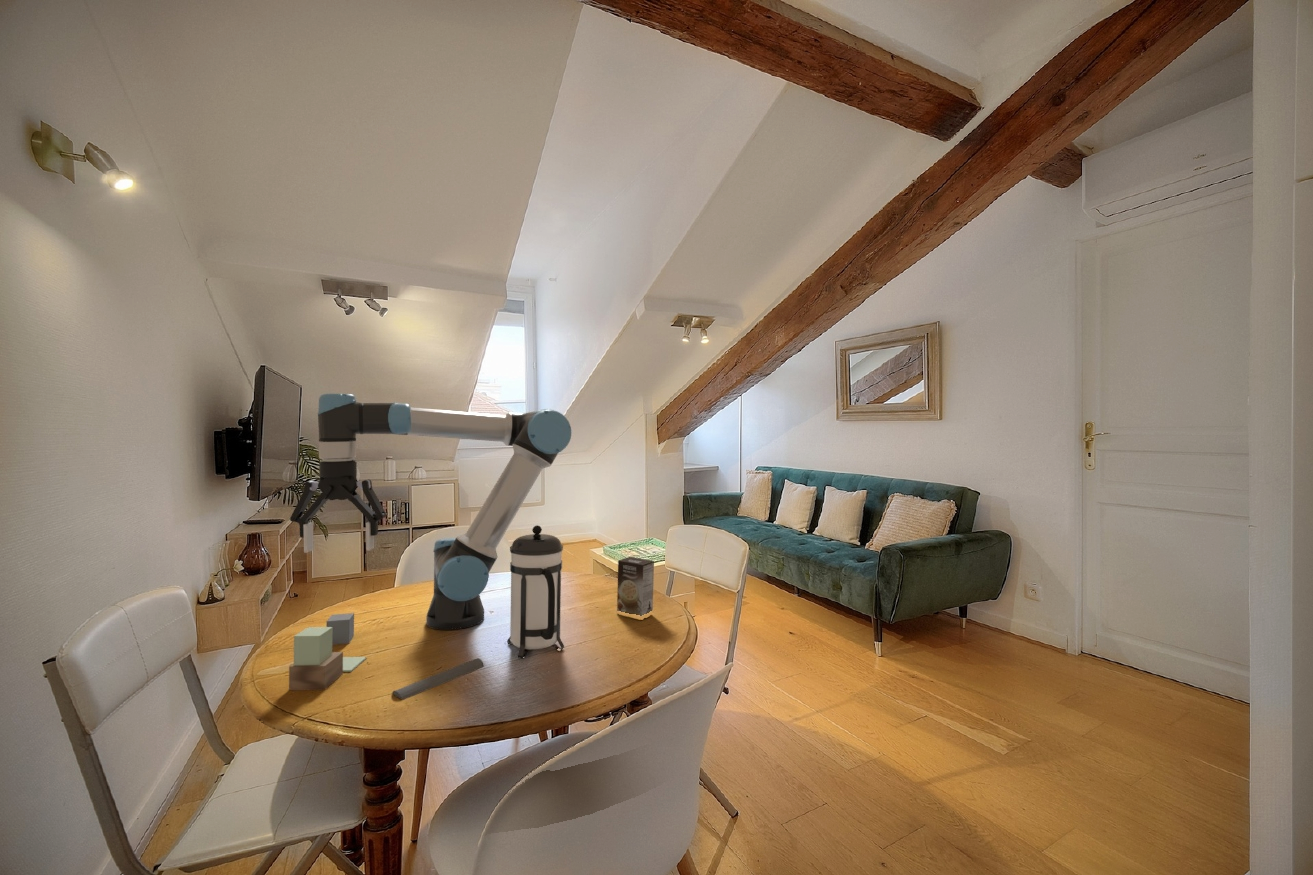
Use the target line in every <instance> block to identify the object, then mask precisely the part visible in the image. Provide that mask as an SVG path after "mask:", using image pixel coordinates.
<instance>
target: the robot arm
mask: <svg viewBox="0 0 1313 875" xmlns="http://www.w3.org/2000/svg"><path fill="white" fill-rule="evenodd" d="M317 409H318V412H317V421H318V425H317V426H318V427H317V428H318V458H319V459H320V460H321V461H320V462H319V463H318V466H319V467H318V468H319V470H318V472H319V473H318V474H319V475H318V476H319V481H315V480H309V481H307V480H306V481H305V482H304V487H303V492H302V494H301V496H300V497H299V499H298V502H297V503H296V506H295V508H294V509H293V511H292V513H291V515H290V518H289V520H290V522H295V523H297V524H298V525H299V537H300V538H301V539H303V553H304V554H308V553H310V552H312V551H314V522H311V520H312V519H313V518H314V516H315V515H316V514H317V513H318V512H319V510H321V508H322V507H323V506H324V505H325V504H326V503H327V501H328V500H329V501H335V500H338V501H345V500H348V501H349V502H351V503H352V504H353V505H354V506H355V507H356V509H358V511H359V512H361V514H363V516H364V517H365V518H366V519H367V520H368V521H367V522H365V543H366V544H365V545H366V546H365V549H366V551H368V552H369V551H372V550H374V549H375V536H377V535H379V534H378V533H379V521H380V520H382V519H385V518H386V517H388V516H387V515H388V514H387V513H386V510H385V509H384V507H383V505H382V503H381V501H380V500H379V498H378V496H377V495H376V493H375V491H374V489H373V484H372V480H371V479H365V480H360V481H359V480H358V479H357V475H358V474H357V473H358V472H357V471H358V470H357V469H358V468H357V466H358V465H357V463H358V462H357V460H354V459H356V458H357V435H399V436H401V435H402V436H414V437H415V436H417V437H429V438H430V437H431V438H445V439H459V440H472V441H485V442H486V441H488V442H501V443H503V444H504V445H505V446H509V447H512V448H513V454H512V456H511V458H510V459H509V461H508V463H507V464H506V466H505V467H504V469H503V471H502V473H501V474H500V476H499V478H498V479H497V481H496V483H495V484H494V486H493V488H492V489H491V491H490V493H489V495H488V496H487V498H486V499H485V501H484V503H483V504H482V506H481V508H480V509H479V510H478V512H477V514H476V516H475V518H474V519H473V521H472V523H471V524H470V525H469V528H468V530H467V531H466V533H463V534H461V535H457V536H456V537H452V538H442V539H438V540H436V541H435V542H434V546H433V547H434V548H433V555H434V556H433V563H434V564H433V596H432V598H431V601H430V605H429V607H428V610H427V613H426V616H425V617H426V619H425V620H426V622H425V623H426V626H427V627H429V628H431V629H434V630H439V631H441V630H442V631H452V630H460V629H467V628H470V627H473V626H476V625H478V624H480V623H482V622H483V621H484V619H485V608H484V605H483V601H482V600H481V596H480V594H482V593H483V591H484V590H485V589H486V587H487V585H488V581H489V578H490V575H489V574H490V571H491V569H492V567H493V566H494V565H495V563H496V561H497V558H498V553H497V547H499V546H498V545H499V544H500V542H501V540H502V539H503V537H504V535H505V534H506V532H507V530H508V528H509V527H510V525H511V523H512V522H513V520H514V518H515V517H516V515H517V514H518V511H519V510H520V508H521V506H522V504H523V503H524V501H525V500H526V497H527V496H528V494H529V492H531V489H532V488H533V486H534V485H535V482H536V480H537V479H538V477H539V476H540V473H541V472H542V470H543V469H545V468H548V467H551V466H552V464H553V463H554V461H555V459H556V458H557V456H558V454H559V453H561V452H562V451H563V450H565V449H566V447H568V445H569V443H570V441H571V439H572V427H571V424H570V422H569V420H568V419H567V417H566V416H565V415H564V414H563V413H561V412H559V411H557V410H554V409H551V408H544V409H540V410H534V411H529V412H509V411H508V413H506V414H492V413H491V414H490V413H479V412H469V411H468V412H466V411H456V410H447V409H446V410H444V409H432V408H423V407H422V408H421V407H412V406H410V404H409V403H404V402H403V403H400V402H357V400H356V396H355V395H354V394H351V393H323V394H321V395H320V396H319V398H318V408H317ZM358 487H359V488H360V490H362V491H363V494H364V497H365V498H366V500H367V501H368V503H369V505H368V504H367V503H366V502H365V501H364V499H362V497H361V495H360V494H359V493H358V492H357V491H356V490H358ZM317 489H319V490H320V491H321V493H320V494H319V496H318V497H317V498H316V500H315V501H314V502H313V503H312V505H311V506H310V507H309V508H308V509H307V507H308V505H309V503H310V502H311V500H312V498H313V495H314V494H315V491H317ZM306 509H307V510H306Z"/></svg>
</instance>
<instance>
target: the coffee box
mask: <svg viewBox="0 0 1313 875" xmlns="http://www.w3.org/2000/svg"><path fill="white" fill-rule="evenodd" d="M654 569H655V561H654V560H650V559H645V558H640V557H633V556H628V557H625V558H622V559H618V562H617V596H616V597H617V600H616V601H617V602H616V612H617V611H621V612H625V613H629V614H636V615H640V616H642V615H644V614H647V613H649V612H650V611H652V610H653V608H654V577H655V576H654V575H655V574H654V571H655V570H654ZM653 611H654V610H653Z"/></svg>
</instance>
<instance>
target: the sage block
mask: <svg viewBox="0 0 1313 875" xmlns="http://www.w3.org/2000/svg"><path fill="white" fill-rule="evenodd" d="M332 635H333V627H326V626H322V627H321V626H319V627H318V626H317V627H315V626H314V627H313V626H309V627H306V628H304V629H303V630H301V631H300V632H298V633H296V634H294V636H293V663H294V666H302V665H320V664H322V663H323V662H324V661H325V660H327V659H328V658H329V657H330V656H332V652H333V645H332Z"/></svg>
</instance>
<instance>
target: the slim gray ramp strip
mask: <svg viewBox="0 0 1313 875" xmlns="http://www.w3.org/2000/svg"><path fill="white" fill-rule="evenodd" d="M484 666H485V664H484V662H483V660H482V659H481V658H474V659H472V660H469V661H466V662H464V663H462V664H460V665H457V666H454V667H452V668H449V669H447V670H444V671H441V672H438V673H437V674H434V675H431V676H429V677H425V678H424V679H421V680H419V681H415V682H414V683H410V684H407V685H406V686H403V687H401V688H398V689H396V690H393V691H392V695H393V696H395V697H396V698H399V699H400V700H406V699H409V698H411V697H413V696H416V695H418V694H421V693H424V692H426V691H427V690H430V689H433V688H436V687H438V686H440V685H442V684H445V683H447V682H450V681H452V680H455V679H457V678H459V677H462V676H465V675H467V674H469V673H471V672H474V671H476V670H479V669H482V668H483V667H484Z"/></svg>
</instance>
